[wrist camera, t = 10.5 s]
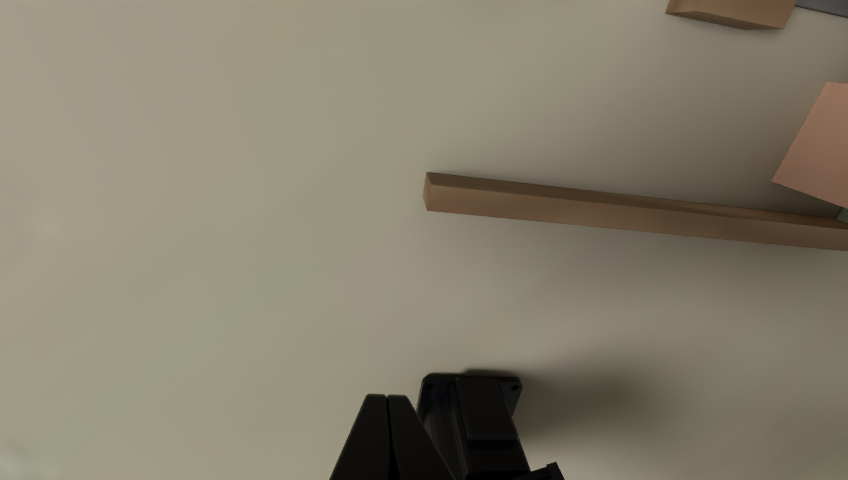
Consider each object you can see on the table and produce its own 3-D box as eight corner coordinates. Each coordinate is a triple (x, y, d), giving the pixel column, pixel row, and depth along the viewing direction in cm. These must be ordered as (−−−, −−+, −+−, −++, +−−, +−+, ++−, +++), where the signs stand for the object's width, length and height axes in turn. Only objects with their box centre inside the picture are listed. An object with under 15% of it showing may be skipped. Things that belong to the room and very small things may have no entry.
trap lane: (839, 238, 23) (888, 260, 21) (422, 196, 19) (429, 217, 17) (1067, -92, 16) (1175, -111, 14) (497, -274, 12) (524, -343, 10)
